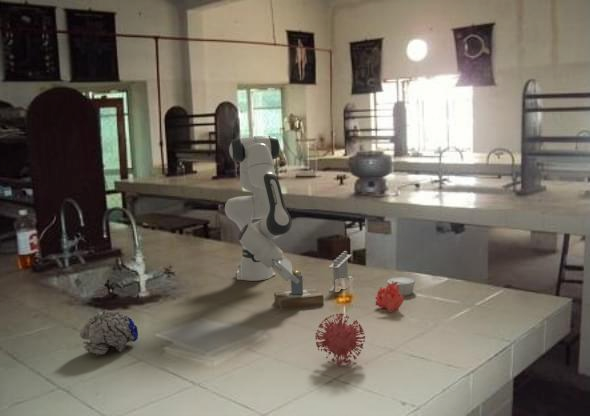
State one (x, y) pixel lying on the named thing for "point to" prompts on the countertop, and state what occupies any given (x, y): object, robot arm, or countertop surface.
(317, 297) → the dock
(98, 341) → the educational model
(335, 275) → the test tube rack
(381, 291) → the protein model
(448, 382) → the countertop surface
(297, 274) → the ball
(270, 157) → the robot arm
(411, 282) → the ramekin
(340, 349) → the virus model
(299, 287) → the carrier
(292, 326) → the countertop surface
